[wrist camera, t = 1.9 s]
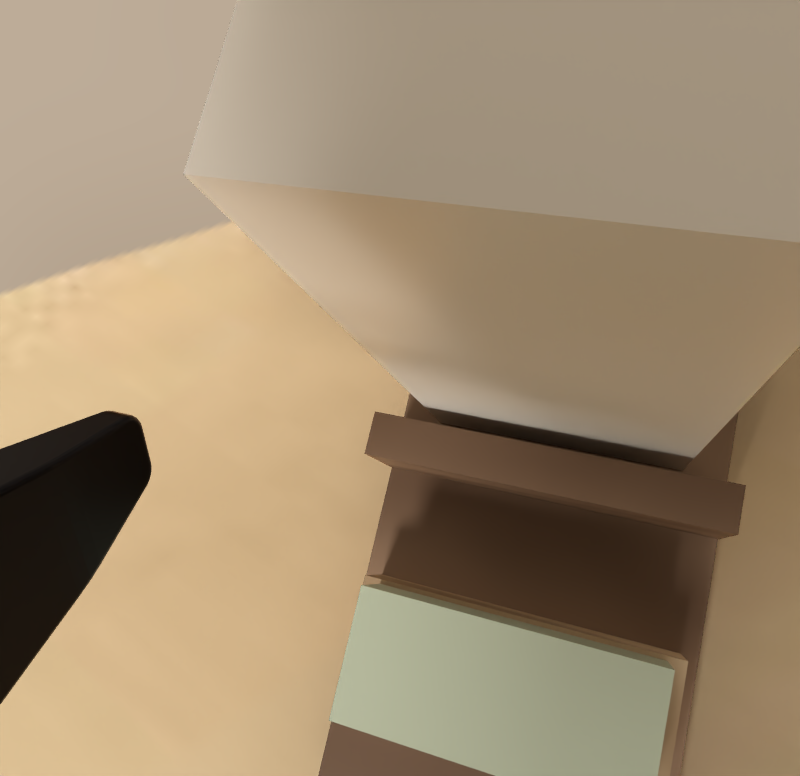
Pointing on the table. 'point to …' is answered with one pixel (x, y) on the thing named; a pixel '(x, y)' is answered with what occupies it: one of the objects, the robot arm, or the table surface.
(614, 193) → the white rectangular block
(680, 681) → the offcut lower
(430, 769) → the rack
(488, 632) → the offcut upper
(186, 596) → the table surface
